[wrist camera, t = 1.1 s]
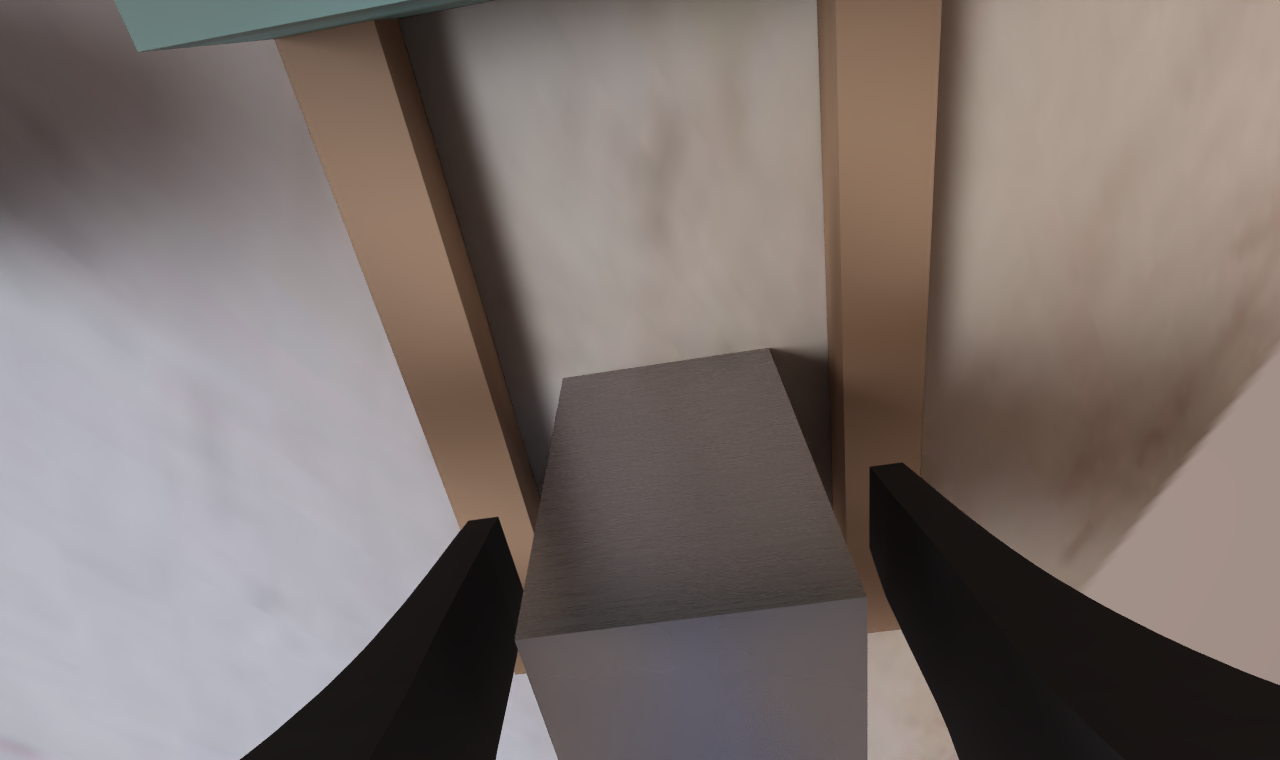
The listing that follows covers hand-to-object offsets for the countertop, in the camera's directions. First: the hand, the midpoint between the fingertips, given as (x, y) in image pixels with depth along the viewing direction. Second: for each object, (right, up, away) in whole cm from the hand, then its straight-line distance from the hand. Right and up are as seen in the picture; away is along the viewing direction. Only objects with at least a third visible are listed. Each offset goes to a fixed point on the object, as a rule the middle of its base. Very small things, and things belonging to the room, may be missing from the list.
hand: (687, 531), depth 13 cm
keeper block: (0, +1, +3) cm, 3 cm away
